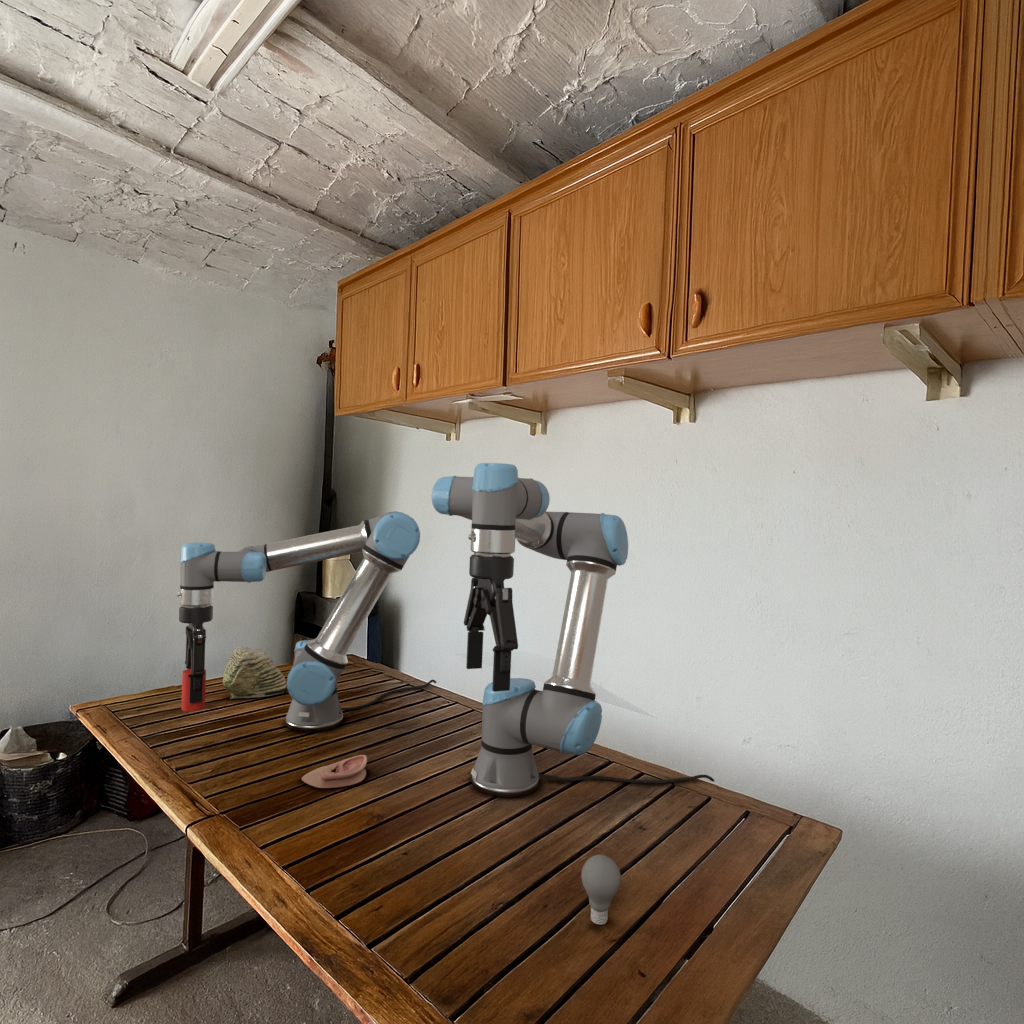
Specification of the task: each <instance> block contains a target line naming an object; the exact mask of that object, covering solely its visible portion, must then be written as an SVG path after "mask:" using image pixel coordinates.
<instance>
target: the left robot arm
mask: <svg viewBox="0 0 1024 1024" xmlns="http://www.w3.org/2000/svg"><path fill="white" fill-rule="evenodd" d="M420 543H421V530H420V526H419V524H418V522H417V521H416V520H415V519H414V518H413V517H412V516H410V515H409V514H408V513H407V514H406V513H404V512H401V511H389V512H386V513H384V514H382V515H379V516H376V517H373V518H369V519H365V520H364V519H363V520H362V521H361V523H360V524H358V525H352V526H348V527H342V528H338V529H333V530H328V531H323V532H318V533H314V534H309V535H303V536H300V537H294V538H288V539H284V540H279V541H274V542H268V543H265V544H259V545H255V546H254V545H251V546H246V547H244V548H242V549H240V550H238V551H222V550H221V551H220V550H216V546H215V544H214V543H212V542H187V543H184V544H183V545H182V546H181V553H180V561H179V566H180V567H179V571H180V572H179V591H180V592H177V593H176V596H177V597H178V598H179V605H181V606H180V607H179V608H178V621H179V622H180V623H182V624H188V625H186V626H185V659H184V660H185V661H184V664H185V668H186V670H187V669H191V675H188V677H190V695H189V703H196V702H202V685H203V675H204V674H205V671H204V669H205V670H206V667H205V665H206V657H205V656H206V639H207V634H206V633H207V631H206V628H205V627H204V624H205V623H209V622H211V621H213V619H214V606H213V605H212V604H214V598H215V597H214V596H215V595H214V594H215V587H214V583H215V582H219V583H220V582H231V583H232V582H233V583H235V582H236V583H250V584H251V583H255V582H258V583H259V582H263V581H264V580H265V578H266V576H267V575H266V574H267V573H269V572H274V571H277V570H282V569H288V568H293V567H297V566H302V565H307V564H312V563H316V562H320V561H321V562H322V561H326V560H332V559H336V558H340V557H344V556H345V557H346V556H350V555H355V554H359V553H362V554H363V559H361V562H360V563H359V565H358V567H357V569H356V570H355V571H354V574H353V576H352V577H351V578H350V580H349V582H348V584H347V586H346V587H345V589H344V591H343V593H342V594H341V596H340V597H339V599H338V601H337V603H336V604H335V606H334V607H333V609H332V611H331V613H330V614H329V616H328V618H327V619H326V621H325V623H324V624H323V626H322V628H321V630H320V631H319V633H318V635H317V637H315V638H313V639H303V640H299V641H297V642H296V643H295V648H294V650H293V651H294V662H293V665H292V667H291V668H290V670H289V671H288V674H287V678H286V685H287V687H286V689H287V692H288V694H289V696H290V698H292V699H291V702H290V704H289V708H288V711H287V713H286V715H285V726H286V728H287V729H289V730H291V731H294V732H295V731H296V732H301V733H316V732H325V731H329V730H332V729H335V728H337V727H339V726H340V725H342V723H343V722H344V713H343V711H353V710H357V709H358V710H359V709H362V708H366V707H368V706H371V705H373V704H376V702H379V700H380V699H381V698H383V697H386V696H388V695H390V694H394V693H399V692H403V691H409V690H418V689H423V688H426V687H428V686H429V685H430V684H432V683H434V684H437V683H438V682H437V681H436V680H435V679H431V680H429V681H428V682H427V683H425V684H423V685H417V686H416V685H415V686H408V687H402V688H396V689H393V690H389V691H387V692H384V693H382V694H380V695H378V696H377V698H375V699H373V700H371V701H369V702H366V703H364V704H360V705H356V706H350V707H342V706H341V702H340V699H339V695H338V682H339V679H340V677H341V675H342V673H343V672H344V670H345V668H346V667H347V665H348V663H349V660H348V657H347V656H348V655H347V653H348V651H349V650H350V648H351V647H352V645H353V643H354V642H355V640H356V638H357V636H358V634H359V633H360V631H361V629H362V627H363V626H364V624H365V622H366V621H367V619H368V617H369V615H370V613H371V612H372V610H373V609H374V606H375V605H376V604H377V601H378V600H379V598H380V596H381V595H382V593H383V591H384V590H385V588H386V587H387V585H388V583H389V581H390V579H391V577H392V576H393V575H394V574H396V573H398V572H401V571H402V570H403V569H404V567H405V564H406V563H407V562H408V560H409V558H410V556H411V555H413V554H414V552H416V550H417V549H418V547H419V545H420Z"/></svg>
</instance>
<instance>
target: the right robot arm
mask: <svg viewBox="0 0 1024 1024" xmlns="http://www.w3.org/2000/svg"><path fill="white" fill-rule="evenodd" d="M517 468H518V467H517V466H516V465H515V464H513V463H502V462H501V463H499V462H481V463H477V464H476V465H475V466H474V470H473V476H457V475H452V476H442V477H439V478H438V479H437V480H436V481H435V483H434V484H433V487H432V490H431V491H432V492H431V502H432V505H433V509H434V510H435V511H436V512H437V513H438V514H440V515H445V516H449V517H452V516H457V517H462V518H465V519H467V520H469V521H471V525H470V526H471V530H470V534H468V536H467V537H468V538H467V539H468V540H470V551H471V552H472V553H473V554H471V555H470V556H469V567H468V568H469V569H468V574H469V576H470V577H472V578H471V580H470V591H469V595H468V599H467V605H466V610H465V615H464V618H463V619H464V620H463V625H464V626H465V627H466V631H467V644H466V665H465V668H466V670H475V669H477V670H478V669H483V651H484V631H486V629H485V625H484V624H485V621H486V619H487V616H489V620H490V624H491V628H492V632H493V637H494V642H495V645H494V647H493V648H492V652H493V662H492V663H493V664H492V665H493V666H492V667H493V668H492V681H491V682H490V683H488V684H487V685H486V686H485V687H484V690H483V696H482V697H483V698H482V702H481V705H482V717H481V740H480V741H481V743H480V749H479V752H478V755H477V758H476V760H475V763H474V766H473V767H472V769H471V772H470V774H471V784H472V786H473V788H475V789H476V790H477V791H478V792H481V793H483V794H486V795H488V796H492V797H499V798H516V797H517V798H518V797H523V796H526V795H529V794H531V793H533V792H534V791H536V790H537V789H538V787H539V781H540V779H539V778H544V779H549V780H556V781H561V782H579V781H585V780H606V781H614V782H622V783H632V784H633V783H634V784H652V785H653V784H655V785H656V784H671V783H677V782H686V781H694V780H697V779H707V780H709V781H710V782H713V783H714V782H716V780H715V779H714V778H713V777H712V776H710V775H708V774H697V775H694V776H693V775H692V776H686V777H677V778H669V779H636V778H635V779H631V778H621V777H613V776H608V775H607V776H606V775H586V776H584V775H583V776H577V777H562V776H555V775H550V774H545V773H539V770H538V767H537V763H536V760H535V756H534V751H533V746H536V747H540V748H542V749H547V750H552V751H556V752H560V754H565V755H567V754H568V755H573V756H583V755H585V754H586V753H588V752H589V751H590V750H591V748H592V746H594V743H595V742H596V739H597V737H598V734H599V732H600V729H601V724H602V719H603V715H602V713H603V708H602V705H601V703H600V702H598V701H597V700H596V697H597V692H596V691H595V689H594V688H593V686H592V677H593V671H594V666H595V659H596V653H597V647H598V642H599V635H600V629H601V623H602V618H603V611H604V605H605V600H606V599H605V598H606V592H607V588H608V581H609V579H611V578H612V577H614V576H615V575H616V573H617V568H618V567H620V566H623V565H625V564H626V562H627V560H628V556H629V537H628V532H627V527H626V524H625V522H624V521H623V519H622V518H621V517H620V516H618V515H617V514H609V513H608V514H607V513H604V512H600V513H591V512H574V511H573V512H572V511H571V512H569V511H547V510H548V508H549V505H550V501H551V497H550V492H549V490H548V488H547V487H546V485H545V484H544V483H543V482H541V481H539V480H537V479H534V478H530V477H529V478H525V477H519V470H518V469H517ZM516 541H517V543H518V544H519V545H520V546H522V547H524V548H526V549H529V550H531V551H533V552H536V553H538V554H540V555H543V556H546V557H548V558H553V559H556V560H563V561H566V564H565V566H566V567H567V568H568V570H569V572H570V579H569V583H568V590H567V594H566V600H565V605H564V611H563V616H562V621H561V627H560V633H559V638H558V643H557V649H556V655H555V660H554V665H553V670H552V675H551V676H550V678H548V679H546V680H545V681H544V682H543V686H542V690H538V689H536V687H537V686H536V682H535V681H534V680H532V679H530V678H525V677H524V678H523V677H511V673H512V672H511V671H512V669H511V668H512V652H513V651H514V650H518V649H519V642H518V635H517V634H518V633H517V625H516V618H515V611H514V604H513V588H512V587H505V580H510V579H513V577H514V569H515V568H514V567H515V557H514V556H512V554H514V553H515V552H516Z"/></svg>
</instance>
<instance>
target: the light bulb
mask: <svg viewBox="0 0 1024 1024" xmlns="http://www.w3.org/2000/svg"><path fill="white" fill-rule="evenodd" d="M621 875H622V874H621V871H620V868H619V867H618V865H617V863H616V862H615V861H614V860H613V859H612V858H611V857H609V856H608V855H605V854H595V855H592V856H590V857H589V858H588V859H587V860H586V861H585V862H584V864H583V866H582V869H581V875H580V877H581V883H582V886H583V888H584V890H585V892H586V894H587V896H588V902H589V905H590V920H591V922H593V923H594V924H596V925H601V926H602V925H606V924H607V922H608V918H609V917H608V914H609V908H610V906H611V903H612V900H613V898H614V897H615V895H616V894H617V892H618V891H619V889H620V885H621V880H622V876H621Z"/></svg>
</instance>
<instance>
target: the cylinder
mask: <svg viewBox="0 0 1024 1024" xmlns="http://www.w3.org/2000/svg"><path fill="white" fill-rule="evenodd" d="M204 671H205V674H204V675H203V685H202V702H196V703H189V695H190V677H188V675H191V669H187V668H186V669H184V670H183V671H182V672H181V704H180V705H181V706H180V710H181V711H183V712H198V711H201V710H204V709H205V707H206V688H207V687H206V686H207V685H206V684H207V669H206V668H205V669H204Z"/></svg>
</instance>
